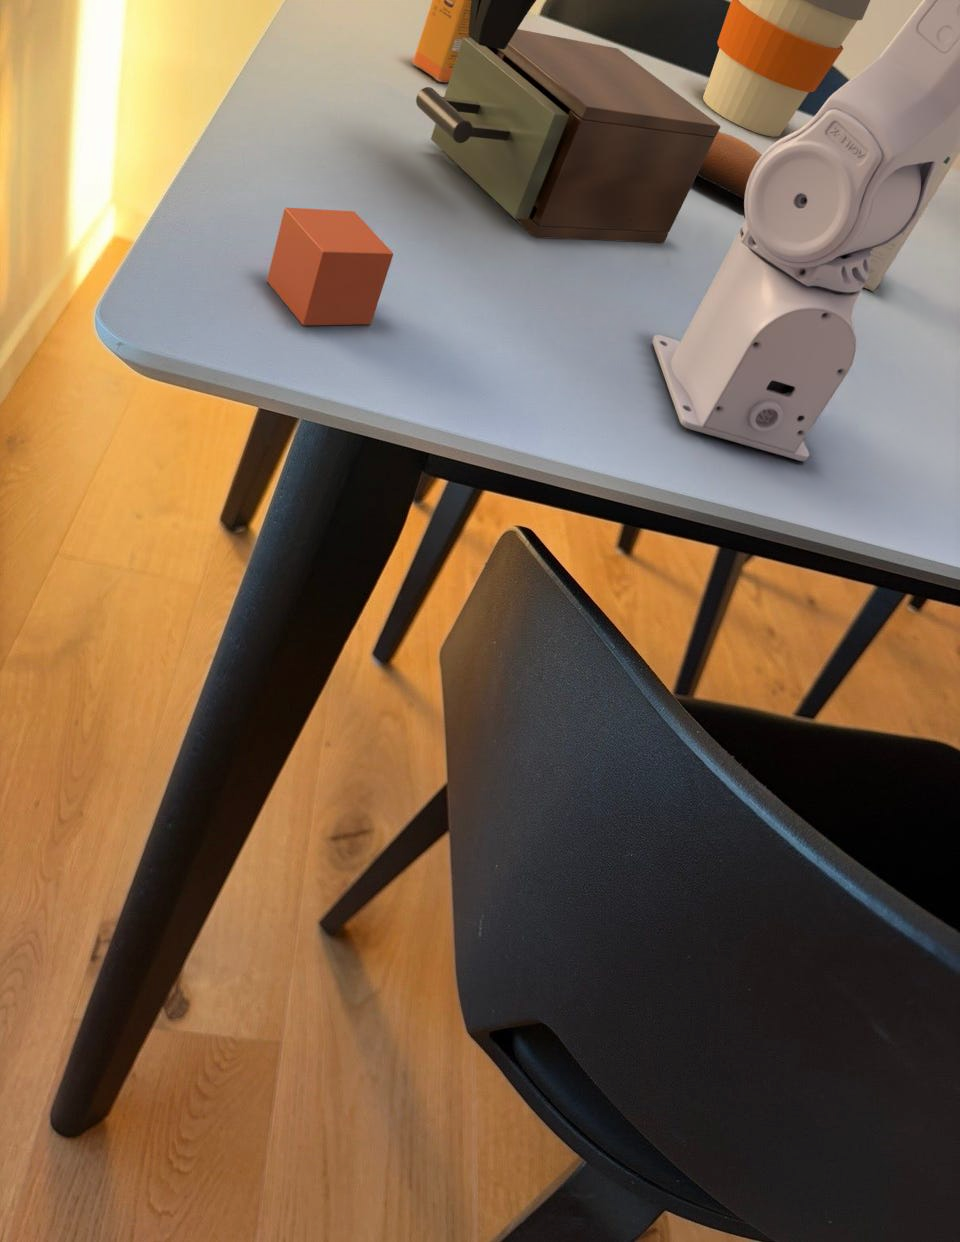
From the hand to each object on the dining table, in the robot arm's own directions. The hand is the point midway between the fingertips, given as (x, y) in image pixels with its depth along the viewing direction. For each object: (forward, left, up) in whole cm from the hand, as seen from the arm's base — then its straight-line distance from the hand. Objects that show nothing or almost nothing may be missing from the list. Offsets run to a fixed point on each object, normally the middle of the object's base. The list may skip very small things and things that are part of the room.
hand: (486, 42), depth 66 cm
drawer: (+3, -5, -8) cm, 10 cm away
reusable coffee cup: (+45, -35, -10) cm, 58 cm away
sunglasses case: (+22, -22, -10) cm, 32 cm away
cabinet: (+5, -9, -9) cm, 14 cm away
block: (-20, +7, -9) cm, 23 cm away
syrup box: (+11, -35, -10) cm, 38 cm away
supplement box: (+23, -1, -10) cm, 25 cm away
